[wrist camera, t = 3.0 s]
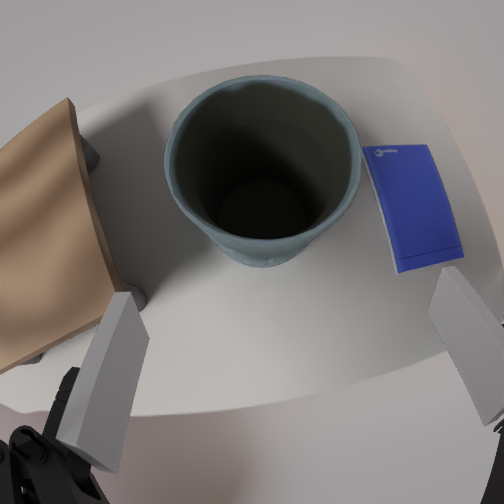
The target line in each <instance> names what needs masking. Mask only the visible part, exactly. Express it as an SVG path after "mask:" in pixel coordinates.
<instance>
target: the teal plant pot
mask: <svg viewBox="0 0 504 504" xmlns="http://www.w3.org/2000/svg"><path fill="white" fill-rule="evenodd" d="M164 169H165V176H166V179H167V183H168V186H169V189H170V191H171V194H172V196H173V198H174V200H175V201H176V203H177V204H178V206H179V208H180V209H181V210H182V211H183V212H184V214H185V215H186V216H187V217H188V218H189V219H190V220H191V221H192V222H194V223H195V224H196V225H197V226H198V227H199V228H200V229H202V230H203V231H204V232H205V233H206V234H207V235H208V236H209V237H210V238H211V239H212V240H213V241H214V242H215V243H216V244H217V245H218V246H219V247H220V248H221V249H222V250H223V251H224V252H225V253H226V254H227V255H228V256H229V257H230V258H232V259H234V260H235V261H237V262H239V263H241V264H244V265H247V266H251V267H261V268H264V267H273V266H276V265H280V264H282V263H284V262H287V261H288V260H290V259H291V258H293V257H294V256H295V255H297V254H298V253H299V252H300V251H302V250H303V249H304V248H305V247H306V246H307V245H308V244H309V242H310V241H312V240H313V239H315V238H316V237H317V236H318V235H319V234H321V233H322V232H323V231H325V230H326V229H327V228H329V227H330V226H331V225H332V224H333V223H334V222H336V221H337V220H338V219H339V218H340V217H341V216H342V215H343V214H344V212H345V211H346V210H347V209H348V207H349V206H350V205H351V203H352V201H353V199H354V198H355V196H356V194H357V191H358V188H359V185H360V180H361V170H362V149H361V145H360V141H359V137H358V134H357V132H356V130H355V128H354V126H353V124H352V122H351V120H350V119H349V118H348V116H347V115H346V113H345V112H344V111H343V110H342V109H341V108H340V107H339V105H338V104H336V103H335V102H334V101H333V100H332V99H331V98H329V97H328V96H327V95H325V94H324V93H322V92H321V91H319V90H317V89H316V88H314V87H312V86H309V85H307V84H305V83H302V82H300V81H297V80H293V79H289V78H286V77H278V76H269V75H260V76H245V77H240V78H236V79H232V80H229V81H226V82H223V83H221V84H218V85H216V86H214V87H212V88H210V89H208V90H207V91H205V92H204V93H202V94H201V95H199V96H198V97H197V98H195V99H194V100H193V101H192V102H191V103H190V104H189V105H188V106H187V107H186V108H185V109H184V110H183V111H182V112H181V114H180V115H179V117H178V118H177V120H176V122H175V123H174V125H173V127H172V130H171V132H170V135H169V137H168V140H167V144H166V147H165V151H164Z"/></svg>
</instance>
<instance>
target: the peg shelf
mask: <svg viewBox="0 0 504 504" xmlns="http://www.w3.org/2000/svg"><path fill="white" fill-rule="evenodd" d="M98 161H99V155H98V154H97V153H96V152H95V150H94V149H93V148H92V147H91V146H90V145H89V144H88V143H87V141H86V140H85V139H84V138H83V137H82V136H81V135H80V133H79V129H78V124H77V118H76V112H75V106H74V105H73V103H72V102H71V101H70V99H69V98H68V97H67V98H66V99H64V100H63V101H61V102H60V103H58V104H57V105H55V106H54V107H53V108H51V109H50V110H48V111H47V112H46V113H44V114H43V115H42V116H40V117H39V118H38V119H36V120H35V121H34V122H32V123H31V124H30V125H29V126H27V127H26V128H25V129H24V130H23V131H21V132H20V133H19V134H18V135H16V136H15V137H14V138H13V139H12V140H11V141H9V142H8V143H7V144H6V145H5V146H4V147H3V148H1V149H0V375H1V374H3V373H4V372H6V371H8V370H10V369H12V368H14V367H16V366H18V365H27V364H36V363H38V362H39V361H40V359H41V353H43V352H45V351H47V350H49V349H51V348H52V347H54V346H56V345H58V344H60V343H62V342H64V341H66V340H68V339H70V338H72V337H74V336H76V335H78V334H80V333H82V332H83V331H85V330H87V329H89V328H91V327H93V326H95V325H97V324H99V323H100V322H101V320H102V317H103V315H104V313H105V311H106V309H107V307H108V305H109V303H110V301H111V298H112V296H113V294H114V292H131V294H132V296H133V299H134V301H135V304H136V307H137V309H138V312H140V311H142V310H143V309H144V307H145V305H146V294H145V292H144V291H143V289H142V288H140V287H138V286H135V285H132V284H128V283H125V282H122V281H120V278H119V276H118V273H117V270H116V267H115V264H114V262H113V259H112V256H111V253H110V250H109V247H108V244H107V241H106V238H105V234H104V231H103V228H102V225H101V221H100V218H99V215H98V211H97V207H96V204H95V200H94V197H93V193H92V189H91V185H90V181H89V177H88V173H87V171H90V170H92V169H93V168H94V167H95V166H96V165H97V163H98Z"/></svg>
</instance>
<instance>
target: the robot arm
mask: <svg viewBox="0 0 504 504" xmlns="http://www.w3.org/2000/svg"><path fill="white" fill-rule="evenodd" d="M426 314H427V316H428V318H429V319H430V321H431V323H432V324H433V326H434V328H435V329H436V331H437V333H438V335H439V336H440V338H441V340H442V342H443V343H444V345H445V347H446V349H447V351H448V353H449V354H450V356H451V358H452V360H453V362H454V364H455V366H456V368H457V370H458V371H459V373H460V375H461V377H462V379H463V381H464V383H465V385H466V387H467V389H468V392H469V394H470V396H471V398H472V400H473V402H474V405H475V407H476V409H477V411H478V413H479V416H480V418H481V420H482V423H483V425H484V426H486V425H488V424H490V423H492V422H494V421H496V420H497V419H498V418H499V417H500V416H501V415H502V414H503V413H504V324H501V323H500V322H499V321H498V319H497V318H496V317H495V315H494V314H493V312H492V311H491V310H490V308H489V307H488V306H487V304H486V303H485V302H484V301H483V299H482V298H481V297H480V295H479V294H478V293H477V292H476V290H475V289H474V288H473V287H472V285H471V284H470V283H469V282H468V281H467V279H466V278H465V277H464V276H463V275H462V273H461V272H460V271H459V270H458V269H457V268H456V266H447V267H442V270H441V273H440V276H439V279H438V282H437V285H436V288H435V291H434V294H433V297H432V299H431V302H430V305H429V307H428V310H427V313H426ZM149 339H150V338H149V336H148V333H147V331H146V329H145V326H144V324H143V321H142V319H141V317H140V314H139V312H138V309H137V307H136V304H135V301H134V299H133V296H132V294H131V292H114V294H113V296H112V298H111V301H110V303H109V305H108V307H107V309H106V311H105V313H104V315H103V317H102V320H101V322H100V324H99V326H98V328H97V330H96V333H95V335H94V337H93V340H92V342H91V344H90V346H89V349H88V351H87V354H86V356H85V358H84V361H83V363H82V366H81V368H78V367H72V368H71V369H70V370H69V371H68V372H67V373H66V375H65V376H64V377H63V380H62V382H61V384H60V387H59V391H58V392H57V395H56V397H55V399H56V400H55V401H54V402H53V405H52V408H51V411H50V413H49V416H48V419H47V422H46V425H45V428H44V431H43V433H42V435H40V434H39V433H38V432H37V431H35V430H34V429H33V428H32V427H30V426H26V425H24V426H20V427H18V428H17V429H15V430H14V431H13V433H12V435H11V436H10V440H9V445H8V444H6V443H5V442H4V441H2V440H0V504H110V503H109V502H108V500H107V499H106V497H105V495H104V493H103V492H102V490H101V488H100V486H99V485H98V483H97V481H96V479H95V477H94V475H93V474H92V473H91V471H90V469H91V465H92V466H94V467H95V468H97V469H98V470H100V471H104V472H109V473H113V474H118V472H119V467H120V461H121V456H122V451H123V445H124V441H125V436H126V431H127V427H128V422H129V417H130V413H131V409H132V404H133V400H134V396H135V392H136V388H137V384H138V380H139V376H140V372H141V368H142V365H143V361H144V357H145V353H146V350H147V346H148V343H149ZM501 426H502V428H501V429H500V430H499V431H498V433H500V434H501V435H500V440H499V444H498V448H497V452H496V456H495V460H494V464H493V467H492V471H491V474H490V477H489V480H488V484H487V487H486V489H485V492H484V495H483V498H482V501H481V503H480V504H504V419H503V420H502V421H501V422H499V423H498V425H496V427H495V428H494V432H496V431H497V430H498V429H499V428H500V427H501ZM21 487H23V493H22V489H21Z"/></svg>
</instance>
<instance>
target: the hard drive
mask: <svg viewBox="0 0 504 504" xmlns="http://www.w3.org/2000/svg"><path fill="white" fill-rule="evenodd" d="M362 158H363V161H364V163H365V166H366V169H367V172H368V175H369V178H370V181H371V184H372V188H373V191H374V194H375V197H376V200H377V204H378V207H379V211H380V214H381V218H382V221H383V225H384V228H385V232H386V236H387V240H388V244H389V248H390V252H391V256H392V260H393V265H394V269H395V274H400V273H404V272H408V271H413V270H417V269H421V268H425V267H429V266H433V265H437V264H441V263H445V262H449V261H453V260H457V259H460V258H463V257H464V254H463V250H462V246H461V242H460V239H459V235H458V231H457V228H456V224H455V221H454V217H453V214H452V211H451V208H450V204H449V201H448V198H447V195H446V192H445V189H444V187H443V184H442V181H441V178H440V176H439V173H438V171H437V168H436V166H435V163H434V161H433V158H432V156H431V153H430V151H429V149H428V147H427V145H424V144H422V145H386V146H368V147H363V148H362Z"/></svg>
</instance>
